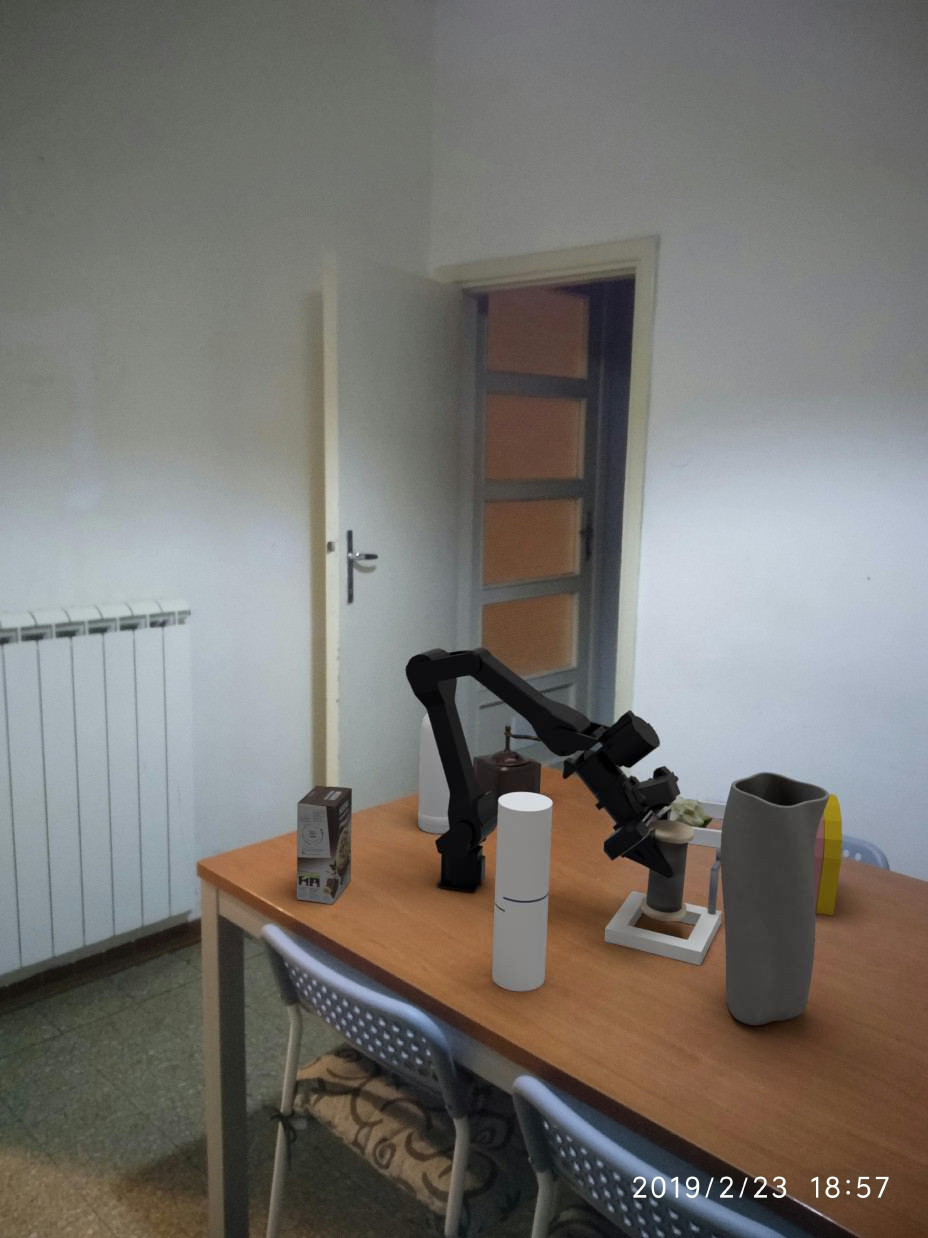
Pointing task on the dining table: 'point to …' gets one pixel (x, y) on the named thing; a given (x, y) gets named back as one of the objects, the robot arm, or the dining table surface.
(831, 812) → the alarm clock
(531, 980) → the cylindrical container
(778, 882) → the vase
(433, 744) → the bottle
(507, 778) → the coffee grinder
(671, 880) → the disc
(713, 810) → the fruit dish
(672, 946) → the rectangular frame
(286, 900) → the dining table surface
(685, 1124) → the dining table surface
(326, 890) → the coffee box
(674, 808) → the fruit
